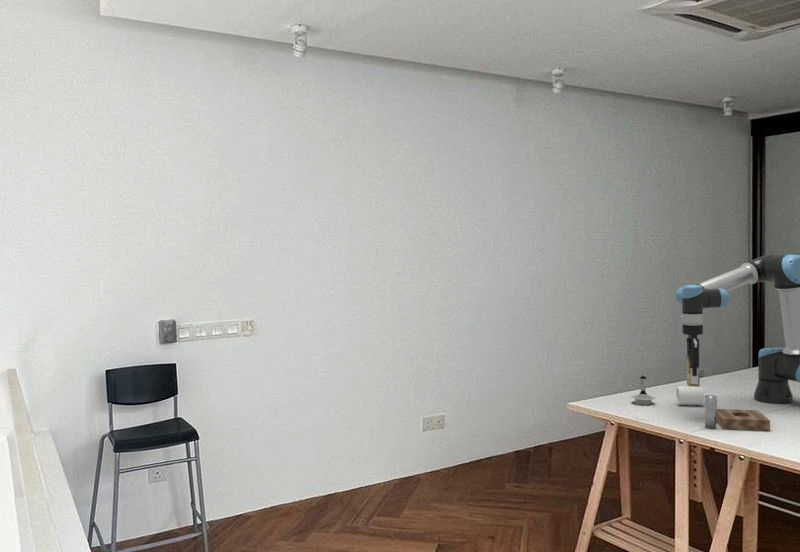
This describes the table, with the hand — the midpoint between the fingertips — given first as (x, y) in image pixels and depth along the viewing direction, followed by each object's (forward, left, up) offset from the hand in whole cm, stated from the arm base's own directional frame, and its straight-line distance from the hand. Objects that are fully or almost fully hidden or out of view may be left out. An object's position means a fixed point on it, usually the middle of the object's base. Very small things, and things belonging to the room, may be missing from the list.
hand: (693, 382), depth 277 cm
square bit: (0, 0, -1) cm, 1 cm away
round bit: (-4, +14, -14) cm, 20 cm away
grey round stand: (+16, -24, -15) cm, 32 cm away
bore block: (-16, +8, -14) cm, 23 cm away
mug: (-3, -26, -15) cm, 30 cm away
